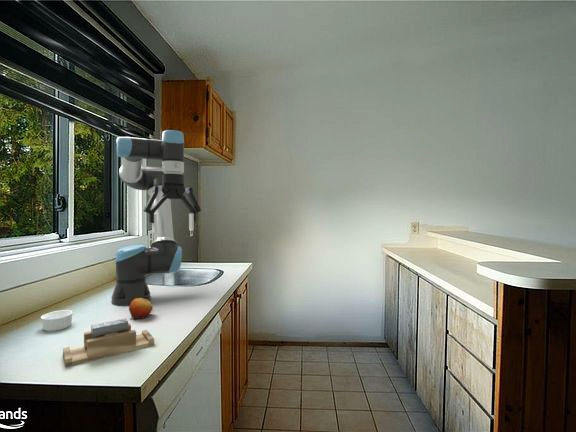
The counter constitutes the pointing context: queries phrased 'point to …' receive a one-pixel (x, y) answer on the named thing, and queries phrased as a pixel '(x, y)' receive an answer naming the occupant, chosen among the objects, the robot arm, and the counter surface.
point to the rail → (107, 346)
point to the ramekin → (56, 320)
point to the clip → (109, 328)
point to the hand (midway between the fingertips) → (173, 231)
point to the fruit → (140, 308)
